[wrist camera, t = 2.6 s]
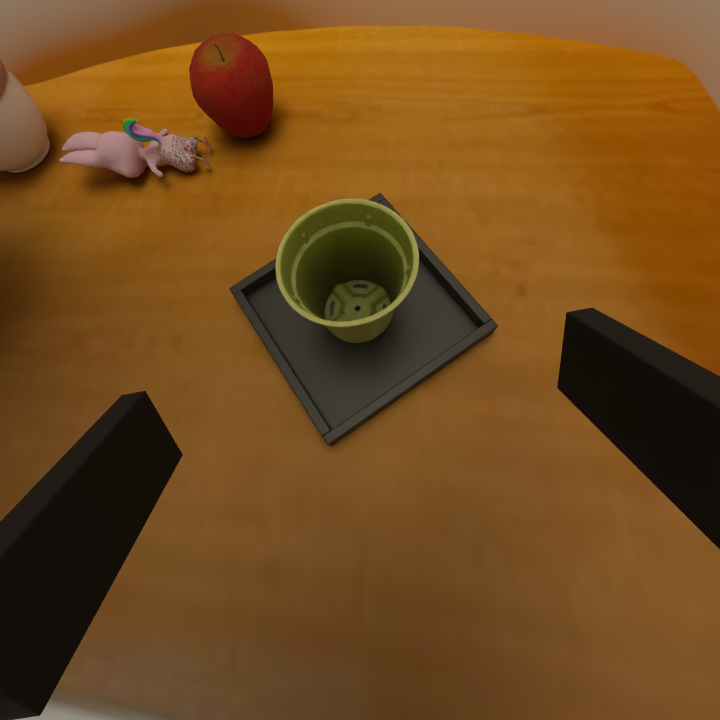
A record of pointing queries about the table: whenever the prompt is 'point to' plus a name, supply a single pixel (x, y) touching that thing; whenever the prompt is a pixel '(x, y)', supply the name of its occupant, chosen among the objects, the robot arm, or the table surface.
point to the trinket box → (20, 126)
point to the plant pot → (348, 266)
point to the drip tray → (365, 343)
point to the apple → (233, 84)
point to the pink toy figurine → (133, 150)
